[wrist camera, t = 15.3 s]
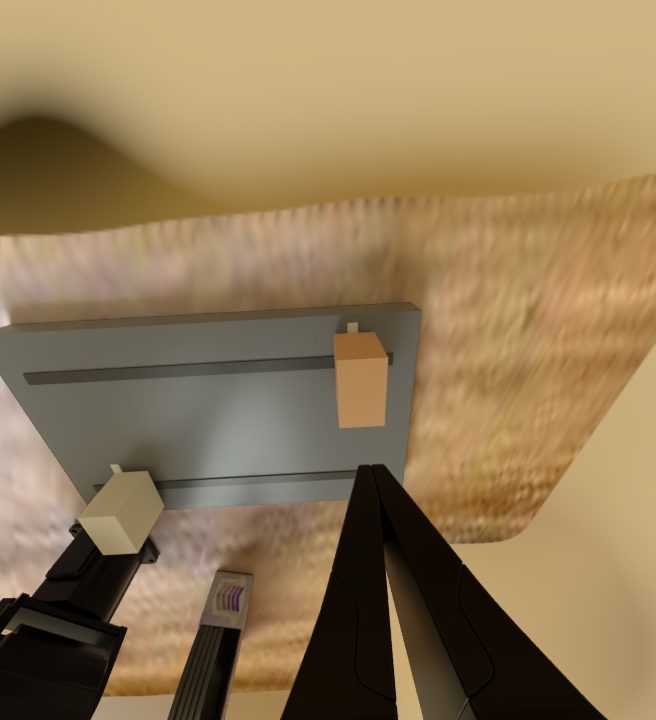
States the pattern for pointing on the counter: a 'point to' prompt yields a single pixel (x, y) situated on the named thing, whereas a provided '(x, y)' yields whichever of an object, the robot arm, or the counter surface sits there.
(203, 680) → the striped narrow carton
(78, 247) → the counter surface
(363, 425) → the copper slider
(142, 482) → the cream slider
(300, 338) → the panel
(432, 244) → the counter surface
